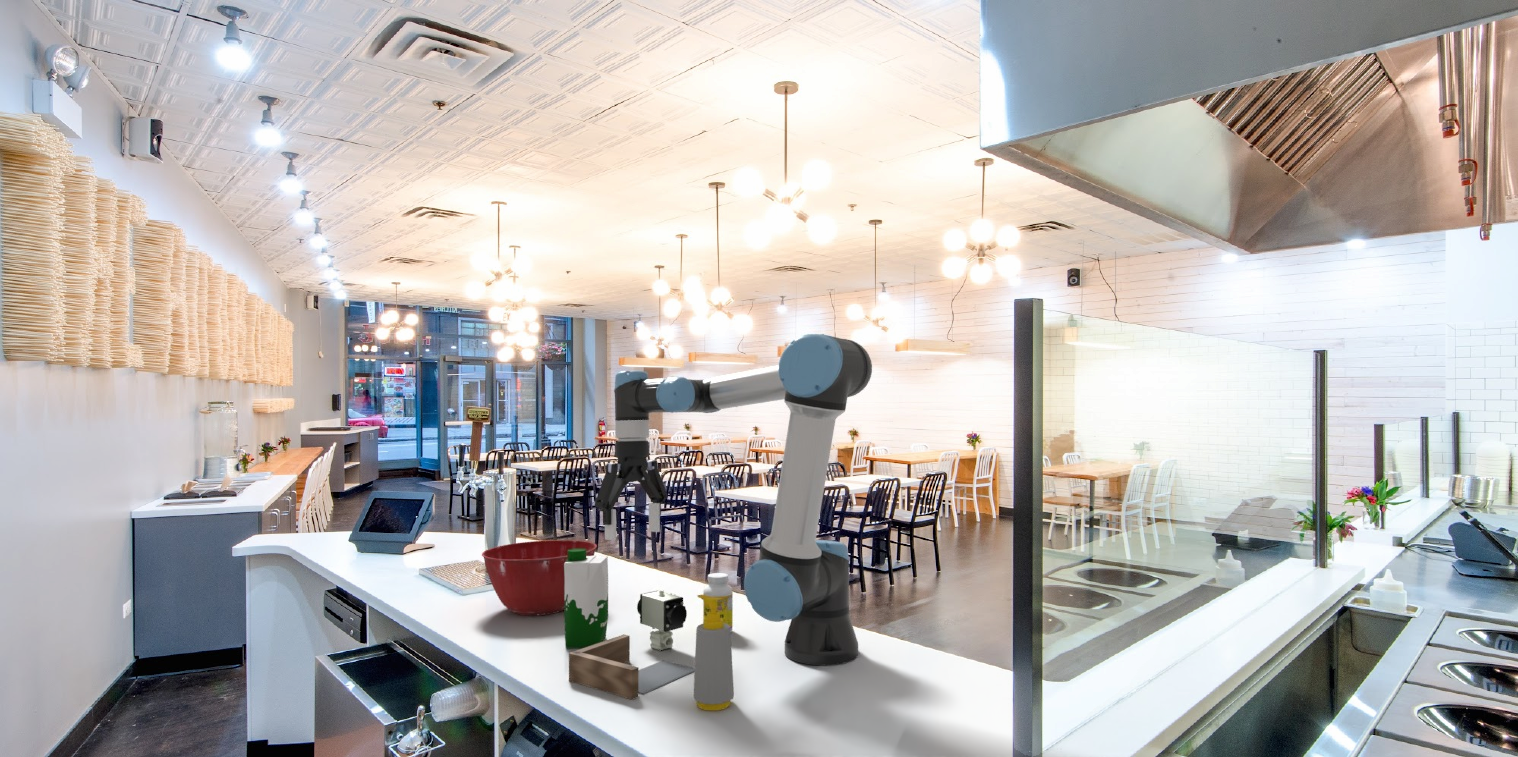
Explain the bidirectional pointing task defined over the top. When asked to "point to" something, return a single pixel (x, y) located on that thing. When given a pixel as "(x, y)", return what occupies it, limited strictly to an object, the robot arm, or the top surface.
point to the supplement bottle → (722, 591)
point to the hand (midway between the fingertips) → (633, 535)
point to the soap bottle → (713, 661)
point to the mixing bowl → (531, 574)
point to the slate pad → (660, 675)
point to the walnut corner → (606, 667)
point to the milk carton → (585, 598)
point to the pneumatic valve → (661, 616)
